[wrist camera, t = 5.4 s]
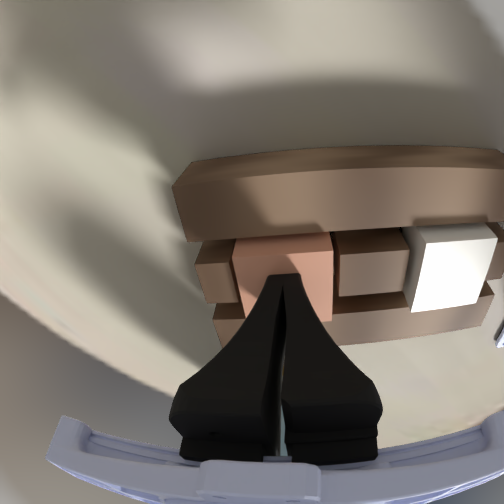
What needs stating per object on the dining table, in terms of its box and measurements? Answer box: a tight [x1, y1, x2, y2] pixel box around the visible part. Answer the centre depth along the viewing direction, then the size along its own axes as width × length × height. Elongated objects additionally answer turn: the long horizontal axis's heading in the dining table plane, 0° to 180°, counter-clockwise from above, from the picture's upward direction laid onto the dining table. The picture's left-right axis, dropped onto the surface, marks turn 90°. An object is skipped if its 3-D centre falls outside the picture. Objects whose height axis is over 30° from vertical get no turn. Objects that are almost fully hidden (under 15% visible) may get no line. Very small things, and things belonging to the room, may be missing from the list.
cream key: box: [402, 222, 498, 312], centre depth 13 cm, size 4×4×3 cm
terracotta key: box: [232, 231, 333, 322], centre depth 14 cm, size 4×4×3 cm
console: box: [172, 145, 504, 348], centre depth 14 cm, size 16×10×3 cm, turn 99°
